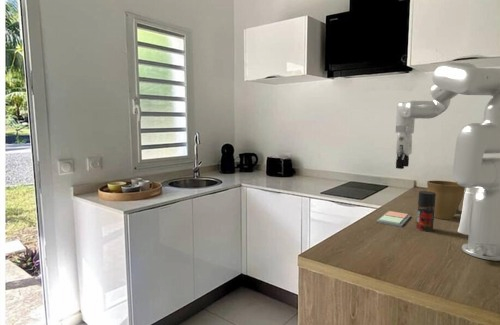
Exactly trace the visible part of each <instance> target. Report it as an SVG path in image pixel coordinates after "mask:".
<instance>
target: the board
mask: <svg viewBox="0 0 500 325" xmlns="http://www.w3.org/2000/svg"><path fill="white" fill-rule="evenodd" d="M409 219H411V215H409V214H408V213H404V212H398V211H392V210H389V211H387V212H385V213H384V214H383V215H381V217H379V218H378V219H377V220H376V221H375V222H376V223H377V222H378V224H385V225H389V226H396V227H400V228H402V227H403V226H404V224H406V223H407V222H408V221H409Z"/></svg>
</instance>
